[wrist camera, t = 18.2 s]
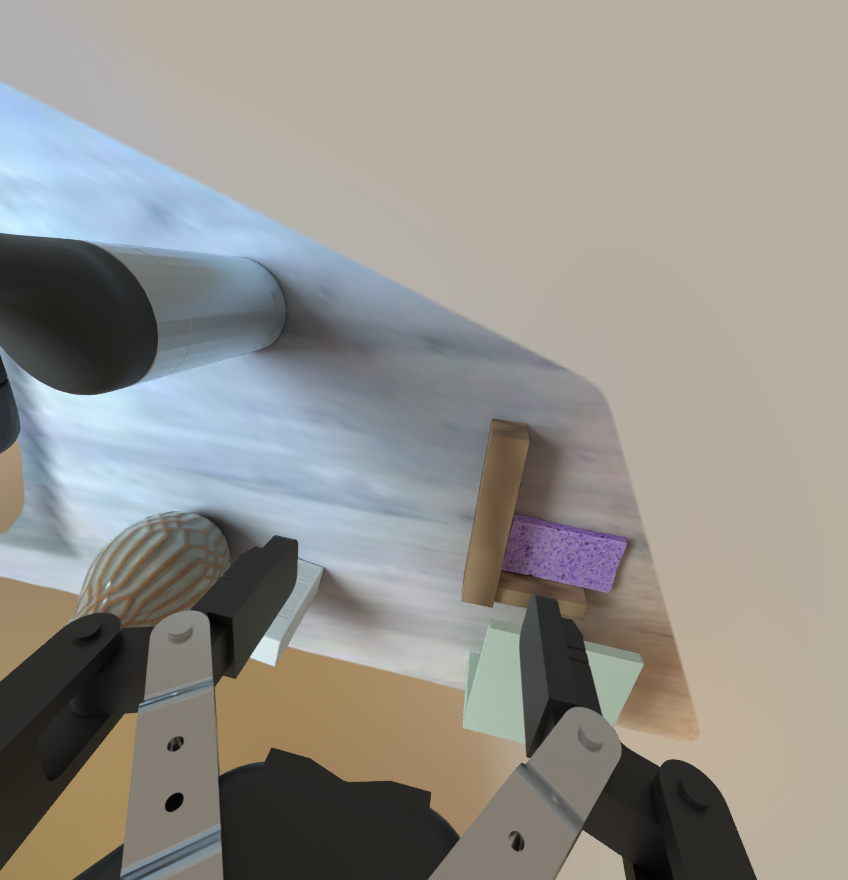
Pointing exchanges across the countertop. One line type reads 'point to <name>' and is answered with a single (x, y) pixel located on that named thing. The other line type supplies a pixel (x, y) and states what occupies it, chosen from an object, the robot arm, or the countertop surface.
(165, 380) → the countertop surface
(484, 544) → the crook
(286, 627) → the skincare box
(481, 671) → the wall shelf
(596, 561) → the sponges
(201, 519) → the vase
